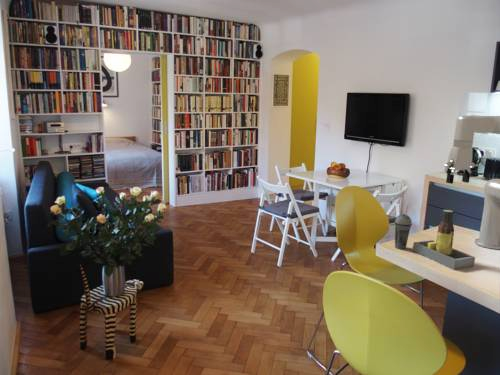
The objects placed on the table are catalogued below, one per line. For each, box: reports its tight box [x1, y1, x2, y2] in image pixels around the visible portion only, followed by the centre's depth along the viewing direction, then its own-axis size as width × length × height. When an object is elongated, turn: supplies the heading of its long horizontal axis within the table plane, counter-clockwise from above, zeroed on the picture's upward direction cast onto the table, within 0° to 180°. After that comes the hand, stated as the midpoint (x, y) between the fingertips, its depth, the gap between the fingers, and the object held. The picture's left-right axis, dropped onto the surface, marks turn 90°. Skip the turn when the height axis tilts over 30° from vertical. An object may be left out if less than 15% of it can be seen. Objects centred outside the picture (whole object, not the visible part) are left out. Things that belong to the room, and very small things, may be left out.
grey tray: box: [412, 239, 476, 271], centre depth 174 cm, size 11×22×4 cm, turn 23°
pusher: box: [427, 242, 436, 250], centre depth 178 cm, size 8×5×5 cm, turn 113°
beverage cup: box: [394, 204, 413, 250], centre depth 183 cm, size 7×7×20 cm
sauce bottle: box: [435, 209, 455, 257], centre depth 172 cm, size 7×6×20 cm
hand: (457, 182), depth 183 cm, fingers open, 9 cm apart
